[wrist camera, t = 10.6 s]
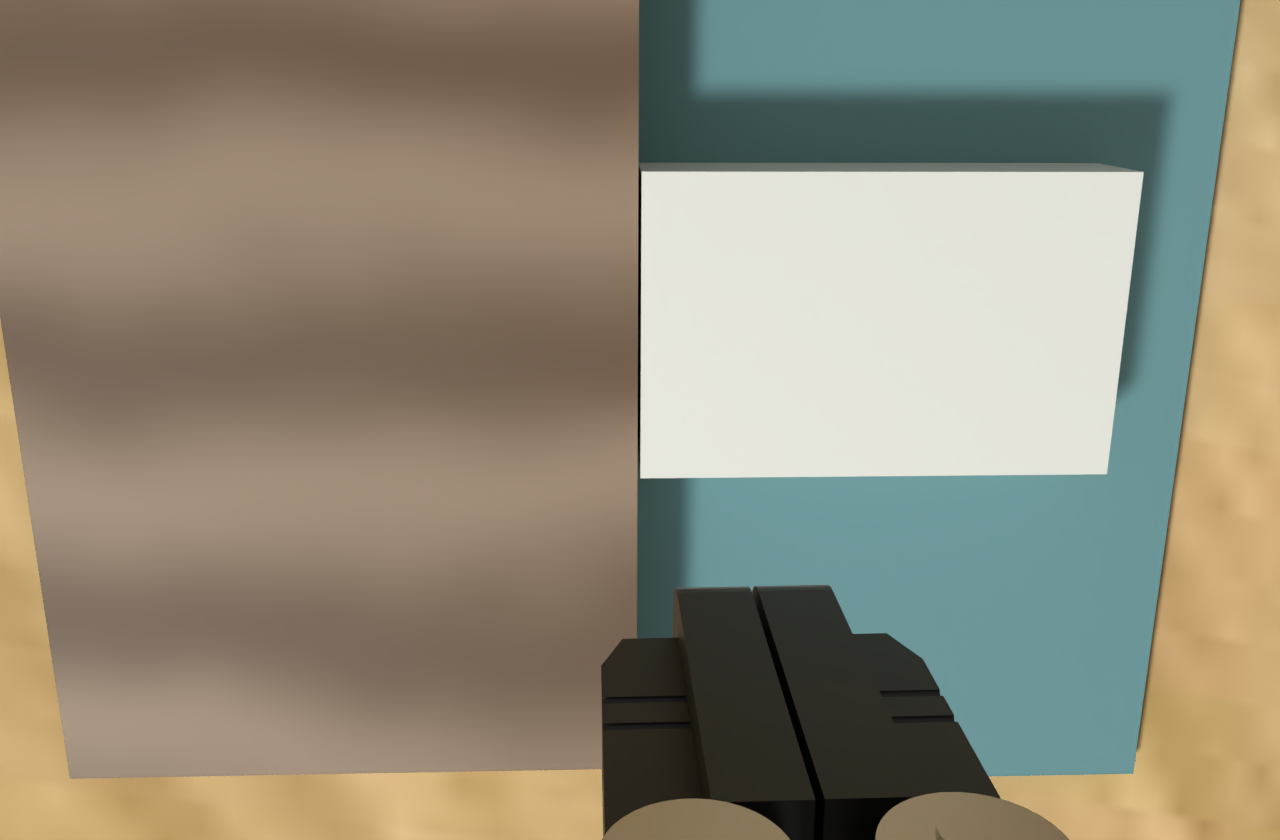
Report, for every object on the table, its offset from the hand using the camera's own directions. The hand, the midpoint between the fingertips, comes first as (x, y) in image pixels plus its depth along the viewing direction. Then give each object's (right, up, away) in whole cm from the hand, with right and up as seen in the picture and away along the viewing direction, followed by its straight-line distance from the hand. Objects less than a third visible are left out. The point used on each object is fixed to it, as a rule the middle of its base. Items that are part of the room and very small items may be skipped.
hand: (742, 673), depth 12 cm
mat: (+6, +5, +18) cm, 20 cm away
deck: (-8, +5, +18) cm, 20 cm away
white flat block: (+4, +5, +18) cm, 19 cm away
